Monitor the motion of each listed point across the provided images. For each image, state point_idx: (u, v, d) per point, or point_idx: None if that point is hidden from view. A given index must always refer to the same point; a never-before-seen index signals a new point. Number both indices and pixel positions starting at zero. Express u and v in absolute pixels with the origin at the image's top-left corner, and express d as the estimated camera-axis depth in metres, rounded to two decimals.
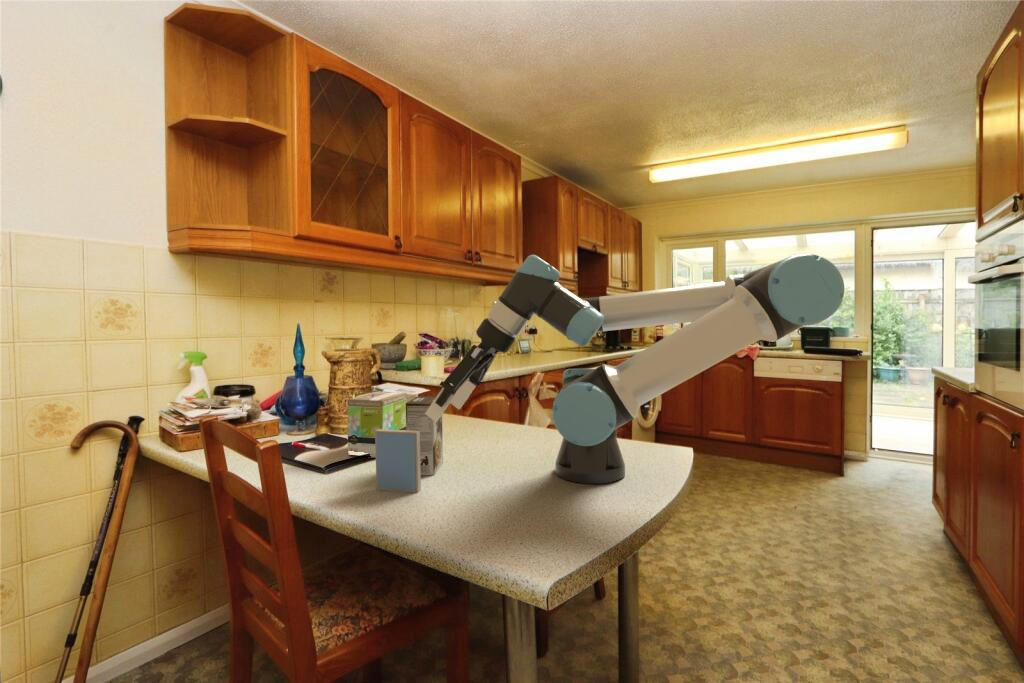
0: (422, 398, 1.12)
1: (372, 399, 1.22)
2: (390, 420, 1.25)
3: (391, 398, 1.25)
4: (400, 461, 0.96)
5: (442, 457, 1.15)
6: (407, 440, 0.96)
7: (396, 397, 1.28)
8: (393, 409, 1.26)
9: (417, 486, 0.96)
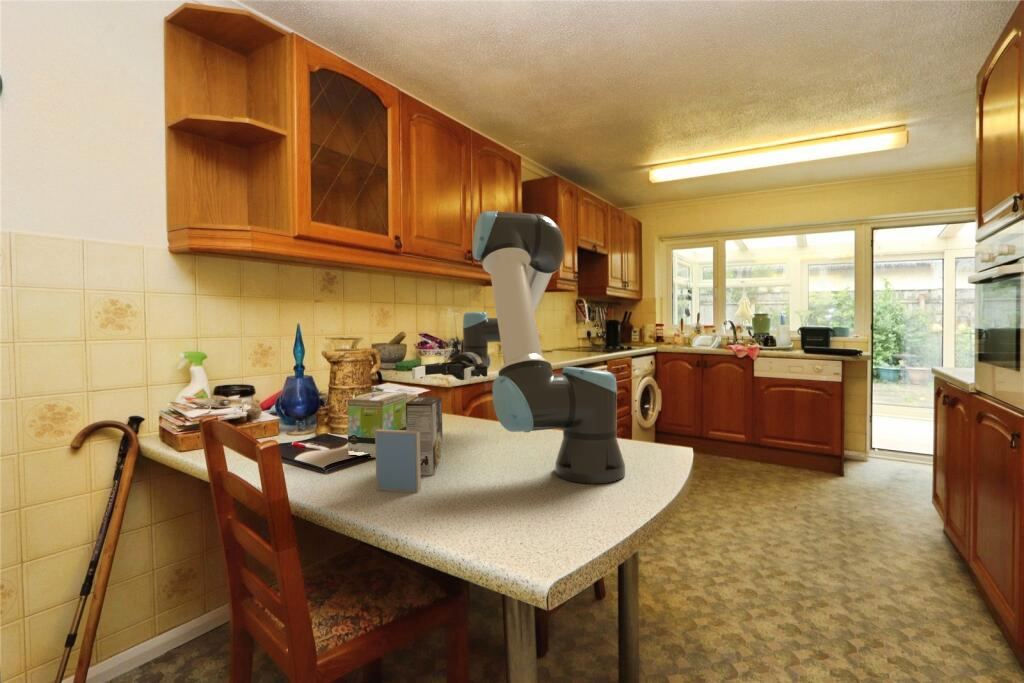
0: (422, 398, 1.12)
1: (372, 399, 1.22)
2: (390, 420, 1.25)
3: (391, 398, 1.25)
4: (400, 461, 0.96)
5: (442, 457, 1.15)
6: (407, 440, 0.96)
7: (396, 397, 1.28)
8: (393, 409, 1.26)
9: (417, 486, 0.96)
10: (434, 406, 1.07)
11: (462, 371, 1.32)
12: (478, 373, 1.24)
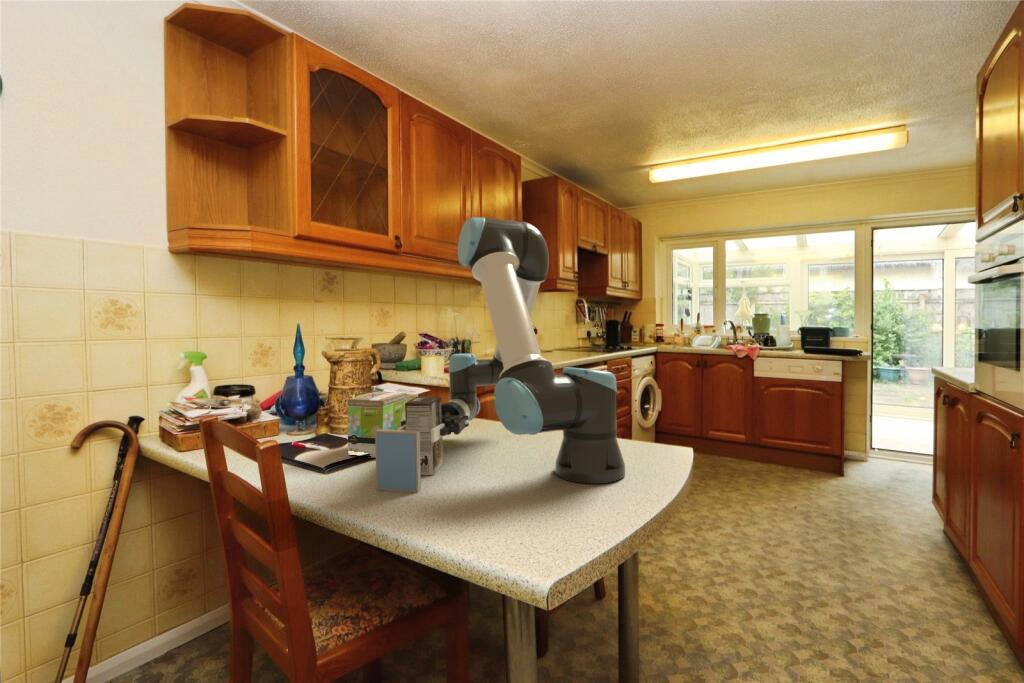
0: (422, 398, 1.12)
1: (372, 399, 1.22)
2: (390, 420, 1.25)
3: (391, 398, 1.25)
4: (400, 461, 0.96)
5: (442, 457, 1.15)
6: (407, 440, 0.96)
7: (396, 397, 1.28)
8: (393, 409, 1.26)
9: (417, 486, 0.96)
10: (433, 406, 1.07)
11: None
12: (448, 431, 1.11)
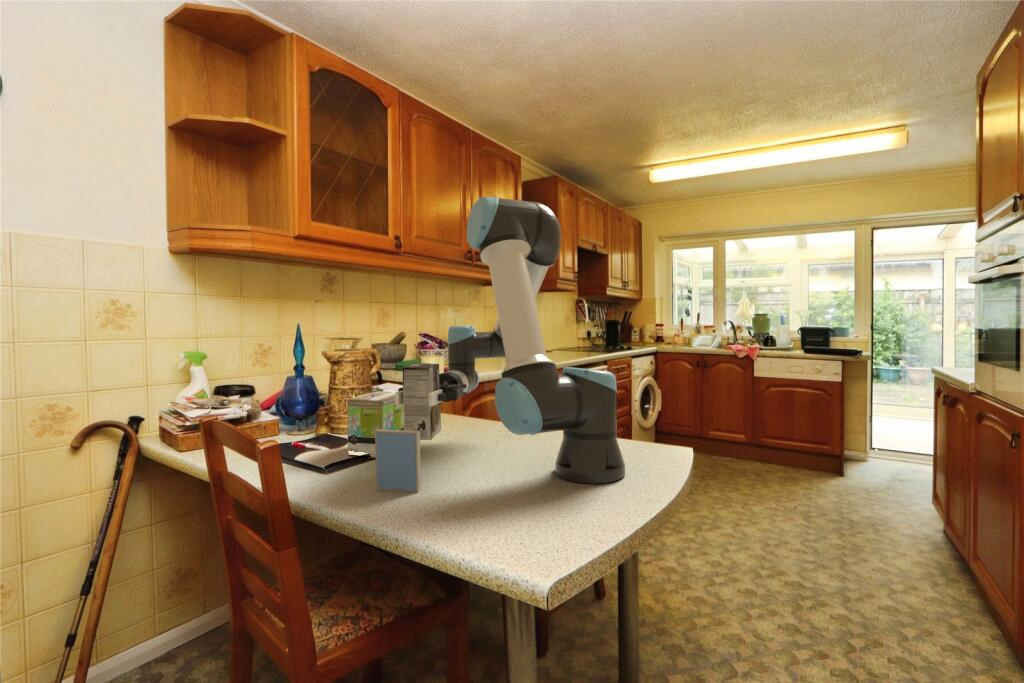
0: (419, 364, 1.11)
1: (372, 399, 1.22)
2: (390, 420, 1.25)
3: (391, 398, 1.25)
4: (400, 461, 0.96)
5: (440, 424, 1.14)
6: (407, 440, 0.96)
7: None
8: (393, 409, 1.26)
9: (417, 486, 0.96)
10: (431, 370, 1.06)
11: None
12: (446, 397, 1.10)
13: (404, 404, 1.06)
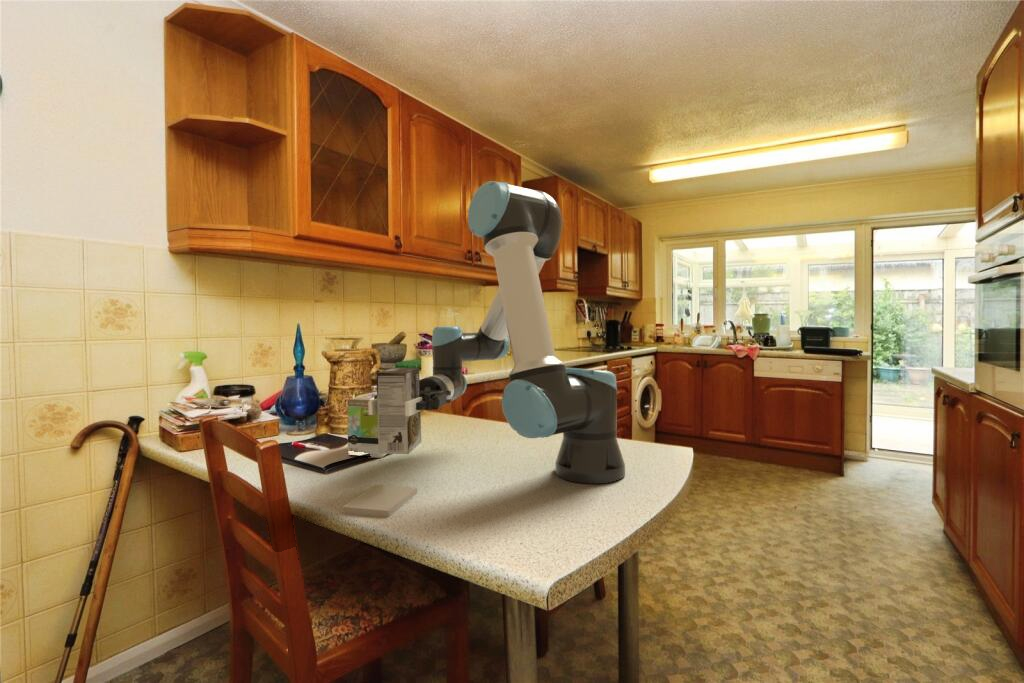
0: (396, 369, 1.00)
1: (372, 399, 1.22)
2: None
3: None
4: None
5: (420, 435, 1.03)
6: None
7: None
8: None
9: None
10: (408, 376, 0.95)
11: None
12: (426, 406, 0.99)
13: (378, 414, 0.95)
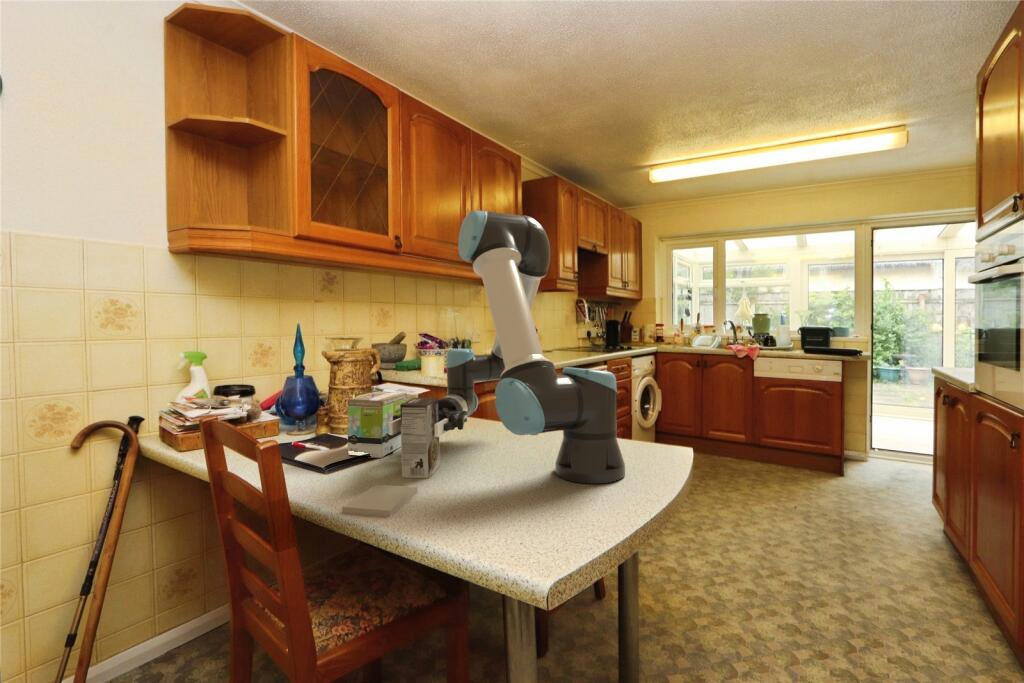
0: (418, 399, 1.10)
1: (372, 399, 1.22)
2: (390, 420, 1.25)
3: (391, 398, 1.25)
4: None
5: (439, 459, 1.13)
6: None
7: (396, 397, 1.28)
8: (393, 409, 1.26)
9: (414, 495, 0.95)
10: (429, 408, 1.05)
11: None
12: (452, 426, 1.09)
13: (402, 441, 1.05)
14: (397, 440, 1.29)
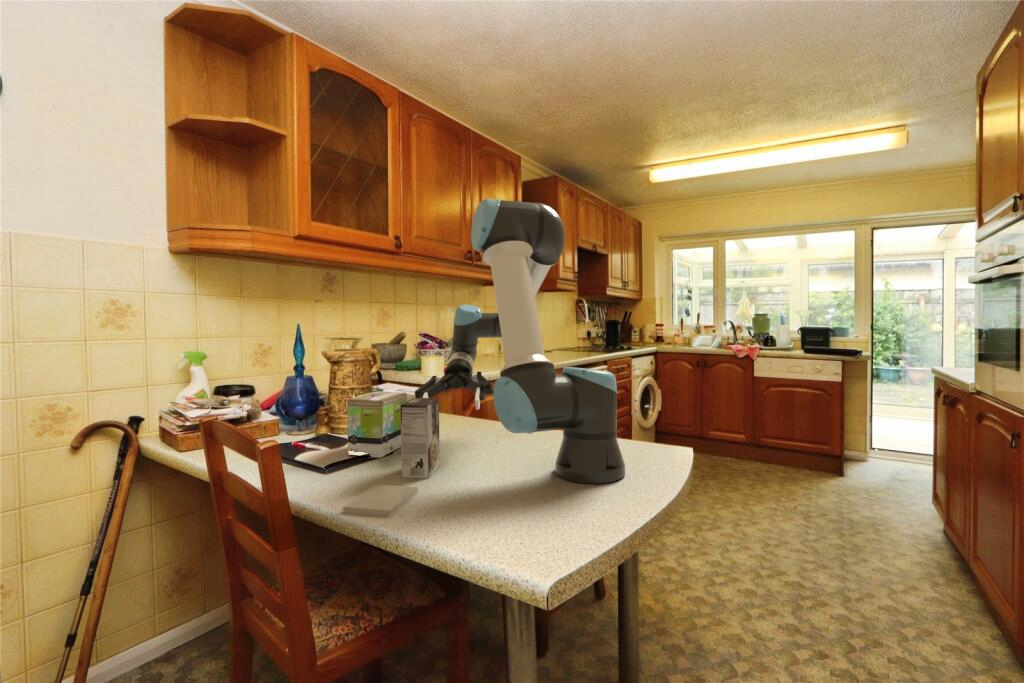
0: (418, 399, 1.10)
1: (372, 399, 1.22)
2: (390, 420, 1.25)
3: (391, 398, 1.25)
4: None
5: (439, 459, 1.13)
6: None
7: (396, 397, 1.28)
8: (393, 409, 1.26)
9: (414, 495, 0.95)
10: (429, 408, 1.05)
11: (463, 385, 1.31)
12: (484, 394, 1.24)
13: (402, 441, 1.05)
14: (397, 440, 1.29)
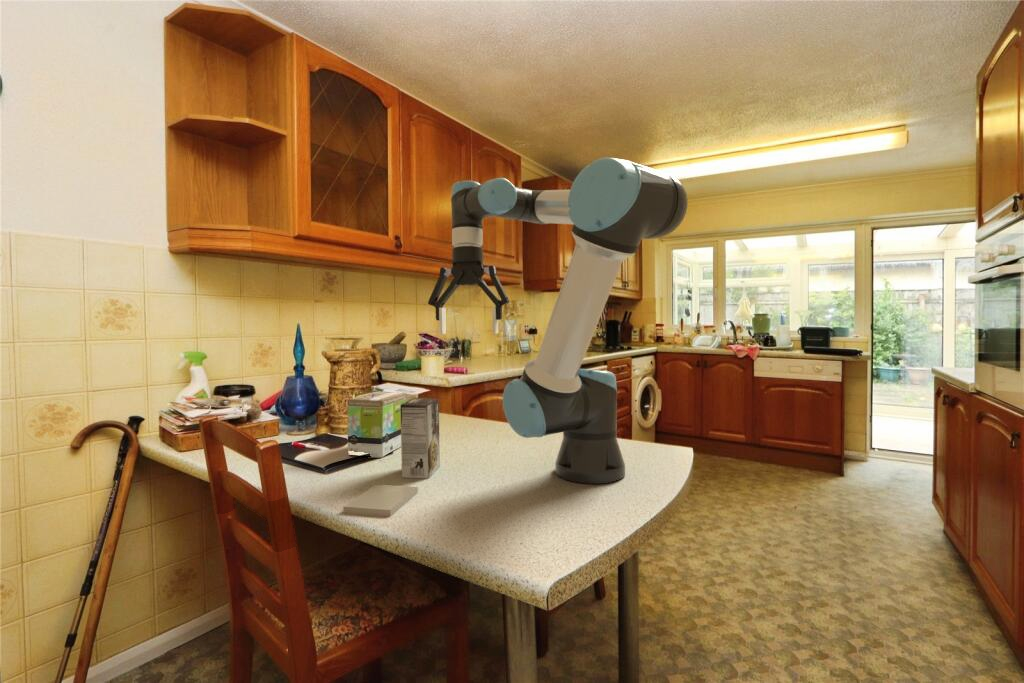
0: (418, 399, 1.10)
1: (372, 399, 1.22)
2: (390, 420, 1.25)
3: (391, 398, 1.25)
4: None
5: (439, 459, 1.13)
6: None
7: (396, 397, 1.28)
8: (393, 409, 1.26)
9: (414, 495, 0.95)
10: (429, 408, 1.05)
11: None
12: (501, 309, 1.19)
13: (402, 442, 1.05)
14: (397, 440, 1.29)
